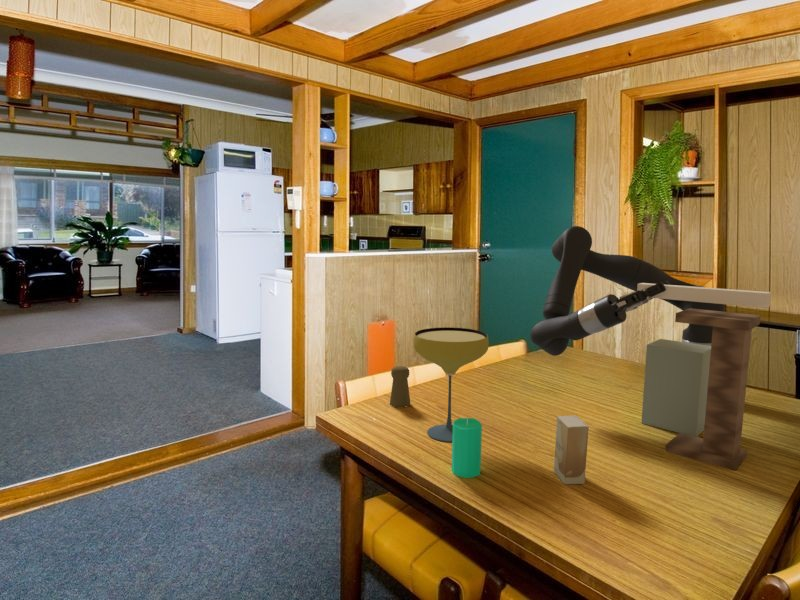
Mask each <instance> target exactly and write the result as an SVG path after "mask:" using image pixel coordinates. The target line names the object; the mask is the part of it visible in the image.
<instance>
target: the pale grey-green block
mask: <svg viewBox="0 0 800 600" xmlns="http://www.w3.org/2000/svg"><path fill="white" fill-rule="evenodd" d="M710 355H711V346H707V345H700V344H693V343H686V342H682V341H678V340H673V339H672V340H671V339H666V338H665V339H663V338H659V339H657V340H655V341H652V342H649V343H647V344H646V353H645V367H644V382H643V395H642V396H643V397H642V412H641V424H642V423H643V424H642V425H646V424H647V425H646V426H650V425H651V426H650V427H654V426H655V428H658V427H659V429H662V428H663V429H662V430H666V431H669V432H670V431H671V432H675V433H677V434H679V433H683V434H687V435H691V436H695V437H699V435H700V434H701V433H703V432H704V424H705V413H706V401H707V390H708V378H709V367H710Z"/></svg>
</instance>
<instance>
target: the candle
mask: <svg viewBox="0 0 800 600" xmlns="http://www.w3.org/2000/svg"><path fill="white" fill-rule="evenodd" d="M452 425H453V433H452V442H451V445H452V446H451V448H452V449H451V472H452V474H453V475H455V476H457V477H459V478H466V479H469V478H476V477H478V476H480V474H481V470H482V466H481V465H482V435H483V433H482V432H483V430H482V429H483V424H482V423H481V422H480V420H478V419H475V418H473V417H472V418H471V417H469V416H468V415H467V416H466V417H463V418H462V417H460V418H457V419H454V420H453V422H452Z"/></svg>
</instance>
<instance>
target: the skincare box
mask: <svg viewBox="0 0 800 600" xmlns="http://www.w3.org/2000/svg"><path fill="white" fill-rule="evenodd" d="M555 430H556V431H555V450H554V461H553V471H554V474H556V475H557V477H558V478H559V480H560V481H561V482H562V483H563V484H564V485H584V484H585V483H586V469H587V458H588V457H587V454H588V440H589V425H587V424H586V423H585V422H584V421H583V420H582V419H581V418H580V417H578V415H557V416H556V429H555Z"/></svg>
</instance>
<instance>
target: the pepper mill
mask: <svg viewBox="0 0 800 600" xmlns="http://www.w3.org/2000/svg"><path fill="white" fill-rule="evenodd" d="M390 373H391V374H390V376H391V377H392V384H391V392H390V400H389V405H392V406H395V407H394V408H397V407H403V408H406V407H405V406H408V407H410V406H411V405H410V403H411V395H410V389H409V388H410V387H409V381H408V379H409V377H410V370H409V367H407V366H403V365H397V366H394V367H393V368H391V371H390ZM409 405H410V406H409ZM392 406H391V407H392Z"/></svg>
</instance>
